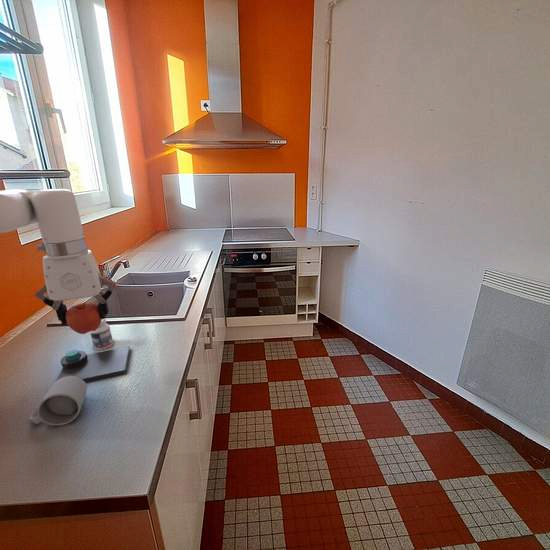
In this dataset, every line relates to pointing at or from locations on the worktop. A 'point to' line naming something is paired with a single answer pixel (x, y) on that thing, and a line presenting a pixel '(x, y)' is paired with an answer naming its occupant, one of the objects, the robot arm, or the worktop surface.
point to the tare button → (72, 355)
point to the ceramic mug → (61, 402)
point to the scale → (96, 365)
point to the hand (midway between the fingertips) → (85, 319)
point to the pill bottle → (102, 336)
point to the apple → (83, 317)
